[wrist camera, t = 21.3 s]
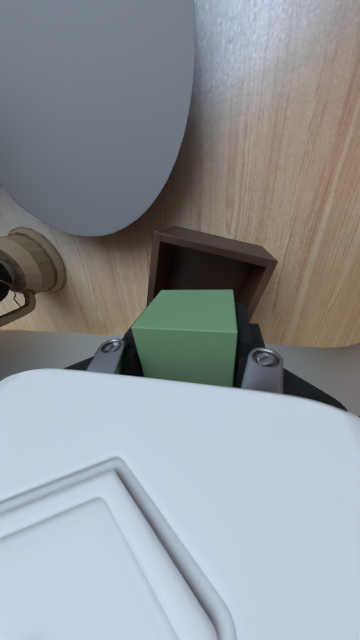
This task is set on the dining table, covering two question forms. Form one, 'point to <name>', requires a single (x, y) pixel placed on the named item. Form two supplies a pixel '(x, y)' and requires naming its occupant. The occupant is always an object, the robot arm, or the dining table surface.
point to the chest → (208, 265)
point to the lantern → (28, 269)
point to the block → (188, 337)
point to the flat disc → (92, 106)
